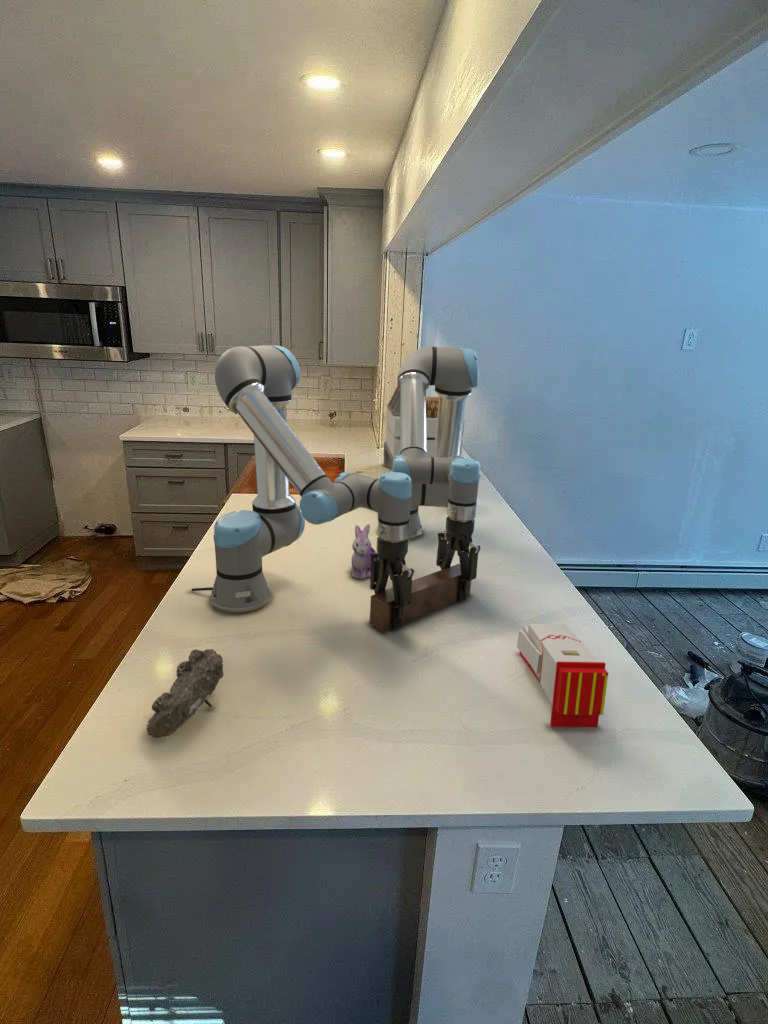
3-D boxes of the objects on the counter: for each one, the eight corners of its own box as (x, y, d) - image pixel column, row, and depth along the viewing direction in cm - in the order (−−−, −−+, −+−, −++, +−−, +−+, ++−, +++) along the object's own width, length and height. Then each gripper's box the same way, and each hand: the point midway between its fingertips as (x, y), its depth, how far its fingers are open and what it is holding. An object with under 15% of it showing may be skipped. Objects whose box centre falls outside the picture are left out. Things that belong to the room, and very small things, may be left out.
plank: (383, 632, 139) (384, 604, 136) (369, 623, 142) (370, 595, 140) (469, 595, 159) (472, 570, 156) (456, 588, 162) (458, 563, 160)
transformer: (382, 463, 289) (386, 382, 275) (445, 464, 293) (451, 384, 279) (390, 482, 257) (394, 392, 243) (460, 483, 261) (468, 394, 247)
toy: (562, 608, 134) (617, 669, 105) (557, 660, 137) (609, 734, 107) (511, 607, 134) (552, 667, 104) (507, 659, 136) (545, 733, 107)
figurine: (357, 582, 163) (358, 534, 158) (342, 568, 171) (343, 521, 166) (386, 576, 167) (388, 529, 162) (370, 563, 176) (372, 517, 171)
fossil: (175, 650, 120) (224, 619, 115) (206, 680, 123) (256, 650, 118) (122, 731, 101) (179, 697, 96) (161, 764, 104) (219, 733, 99)
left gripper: (356, 528, 139) (354, 612, 147) (407, 553, 126) (401, 643, 134) (380, 522, 144) (376, 603, 152) (431, 546, 131) (424, 633, 139)
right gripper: (426, 510, 154) (420, 586, 162) (477, 531, 141) (469, 613, 149) (445, 505, 159) (439, 580, 167) (497, 524, 146) (487, 604, 154)
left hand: (388, 622), depth 143 cm, fingers closed on plank, 5 cm apart
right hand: (453, 595), depth 158 cm, fingers closed on plank, 5 cm apart
